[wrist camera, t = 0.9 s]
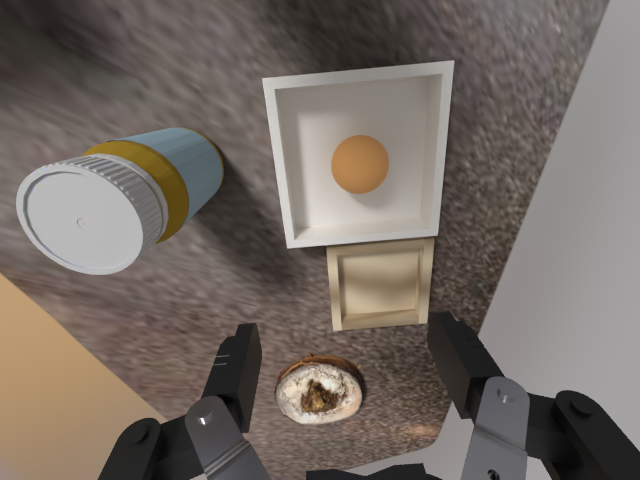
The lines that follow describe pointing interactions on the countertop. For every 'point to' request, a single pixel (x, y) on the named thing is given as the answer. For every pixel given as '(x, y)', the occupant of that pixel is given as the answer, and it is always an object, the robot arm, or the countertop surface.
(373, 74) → the dish
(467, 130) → the countertop surface
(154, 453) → the robot arm
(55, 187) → the bottle
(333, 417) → the sushi roll
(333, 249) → the tray
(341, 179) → the ball
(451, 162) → the countertop surface
